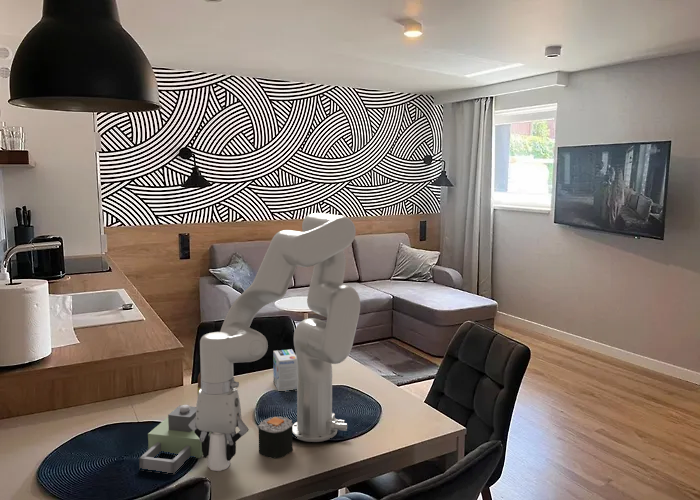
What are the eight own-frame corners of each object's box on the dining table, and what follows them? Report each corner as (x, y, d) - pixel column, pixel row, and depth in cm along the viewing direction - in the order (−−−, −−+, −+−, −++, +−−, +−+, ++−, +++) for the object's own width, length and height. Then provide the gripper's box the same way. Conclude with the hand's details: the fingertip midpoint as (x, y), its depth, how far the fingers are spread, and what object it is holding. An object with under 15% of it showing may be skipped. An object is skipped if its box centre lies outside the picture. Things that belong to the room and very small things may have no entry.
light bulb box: (272, 380, 188) (272, 350, 186) (292, 378, 190) (292, 348, 188) (278, 392, 178) (278, 360, 176) (298, 390, 180) (298, 358, 178)
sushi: (253, 453, 139) (252, 423, 138) (273, 439, 147) (273, 411, 145) (278, 461, 135) (278, 431, 134) (298, 447, 142) (298, 418, 141)
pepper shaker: (218, 457, 137) (218, 415, 135) (235, 463, 134) (234, 420, 133) (202, 467, 132) (201, 424, 131) (219, 473, 130) (218, 429, 128)
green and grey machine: (217, 439, 146) (216, 403, 145) (184, 475, 129) (182, 434, 127) (169, 434, 149) (167, 398, 147) (130, 468, 131) (128, 428, 130)
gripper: (257, 382, 132) (258, 452, 135) (191, 376, 136) (193, 445, 138) (245, 394, 125) (246, 468, 128) (176, 387, 128) (178, 460, 131)
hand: (219, 455), depth 133 cm, fingers open, 5 cm apart
